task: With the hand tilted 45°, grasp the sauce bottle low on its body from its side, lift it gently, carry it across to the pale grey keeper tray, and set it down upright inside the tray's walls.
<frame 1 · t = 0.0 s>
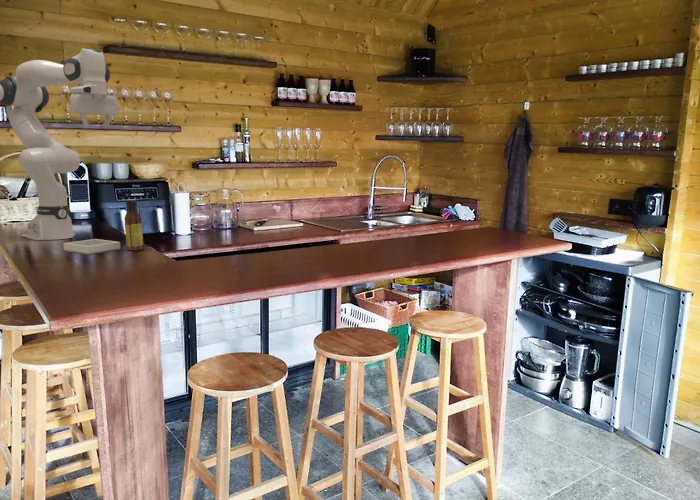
hand: (96, 126, 232), 48 cm above the table, tool pointing down, fingers open, 8 cm apart
keeper tray: (92, 250, 225), on the table
sauce bottle: (134, 250, 228), on the table
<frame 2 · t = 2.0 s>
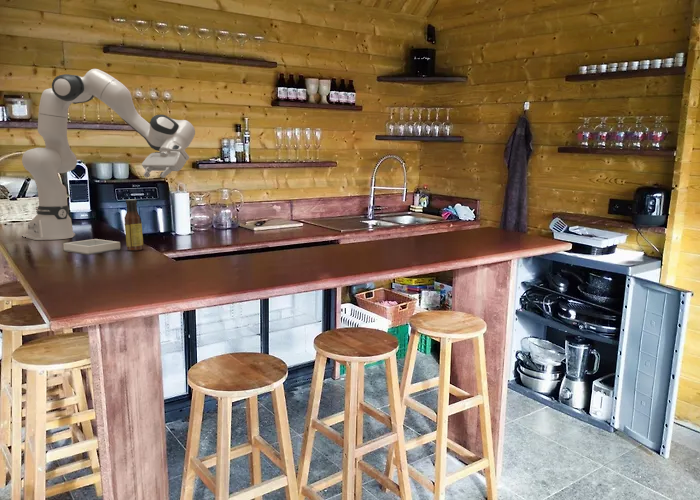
hand: (153, 176, 236), 28 cm above the table, tool tilted 45°, fingers open, 8 cm apart
nothing on the table moved.
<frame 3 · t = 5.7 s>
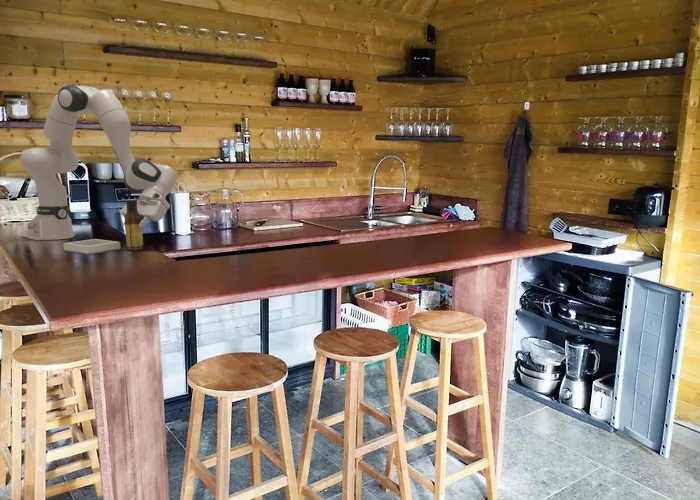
hand: (132, 226, 226), 9 cm above the table, tool tilted 45°, fingers closed on sauce bottle, 6 cm apart
sauce bottle: (134, 250, 228), on the table, touching gripper
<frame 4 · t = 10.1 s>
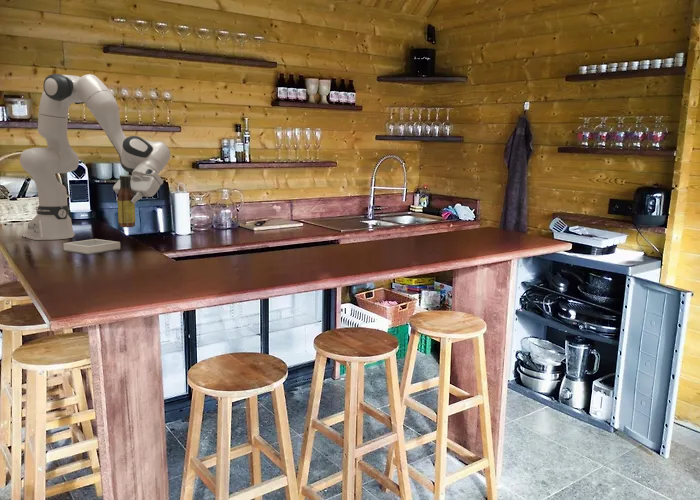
hand: (124, 201, 225), 19 cm above the table, tool tilted 45°, fingers closed on sauce bottle, 6 cm apart
sauce bottle: (126, 226, 227), point 9 cm above the table, touching gripper
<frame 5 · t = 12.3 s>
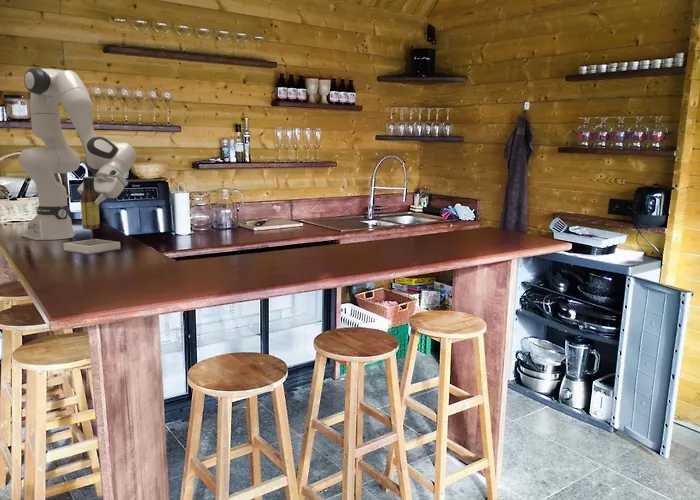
hand: (88, 203, 222), 18 cm above the table, tool tilted 45°, fingers closed on sauce bottle, 6 cm apart
sauce bottle: (90, 228, 224), point 8 cm above the table, touching gripper
when the fingers open (11 cm above the table, at t = 14.4 s): sauce bottle stays where it is, resting on keeper tray.
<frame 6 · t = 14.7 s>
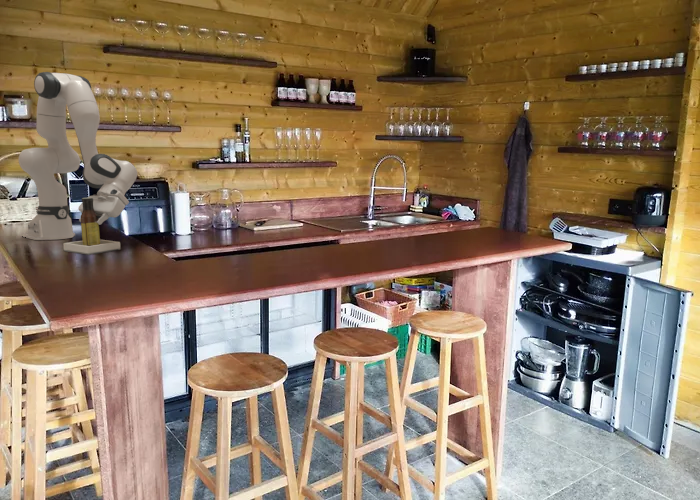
hand: (89, 222, 223), 11 cm above the table, tool tilted 45°, fingers open, 8 cm apart
sauce bottle: (91, 249, 226), resting on keeper tray
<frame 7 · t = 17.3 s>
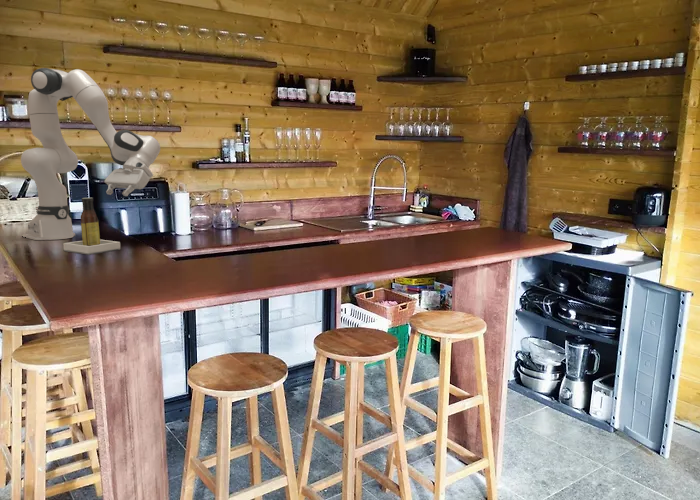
hand: (116, 194, 233), 21 cm above the table, tool tilted 45°, fingers open, 8 cm apart
nothing on the table moved.
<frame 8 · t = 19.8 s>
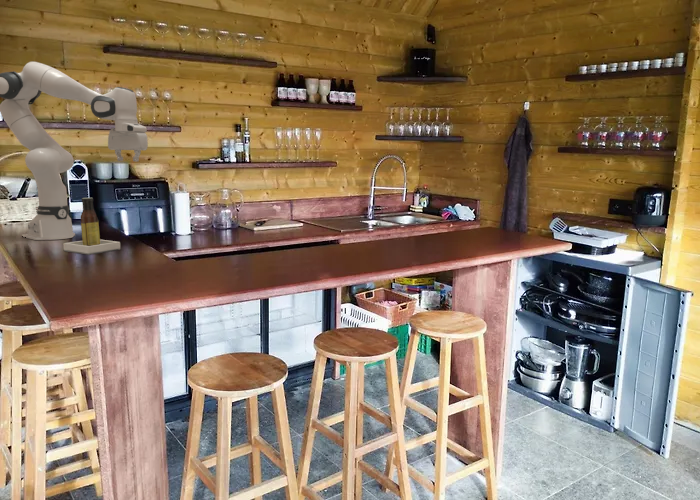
hand: (128, 161, 243), 34 cm above the table, tool pointing down, fingers open, 8 cm apart
nothing on the table moved.
at the end: sauce bottle 0.6 cm from the keeper tray (horizontally); sauce bottle tilted 0°; the gripper is holding nothing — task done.
